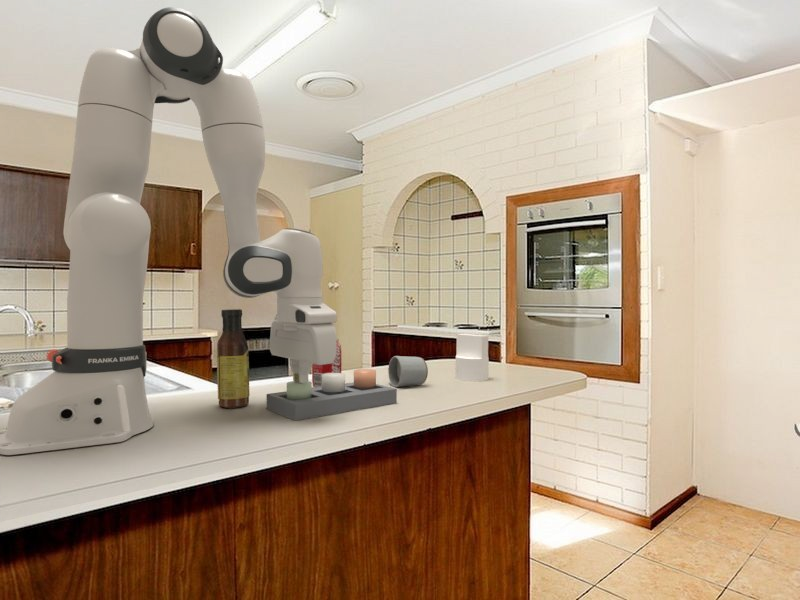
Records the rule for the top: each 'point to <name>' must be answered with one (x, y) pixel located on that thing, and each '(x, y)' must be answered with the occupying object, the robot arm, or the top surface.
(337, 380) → the button white
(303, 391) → the button green
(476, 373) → the base with upright slab
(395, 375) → the ceramic mug
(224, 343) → the sauce bottle
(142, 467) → the top surface
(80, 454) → the top surface
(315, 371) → the soda can
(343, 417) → the top surface
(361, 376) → the button terracotta
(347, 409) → the panel
